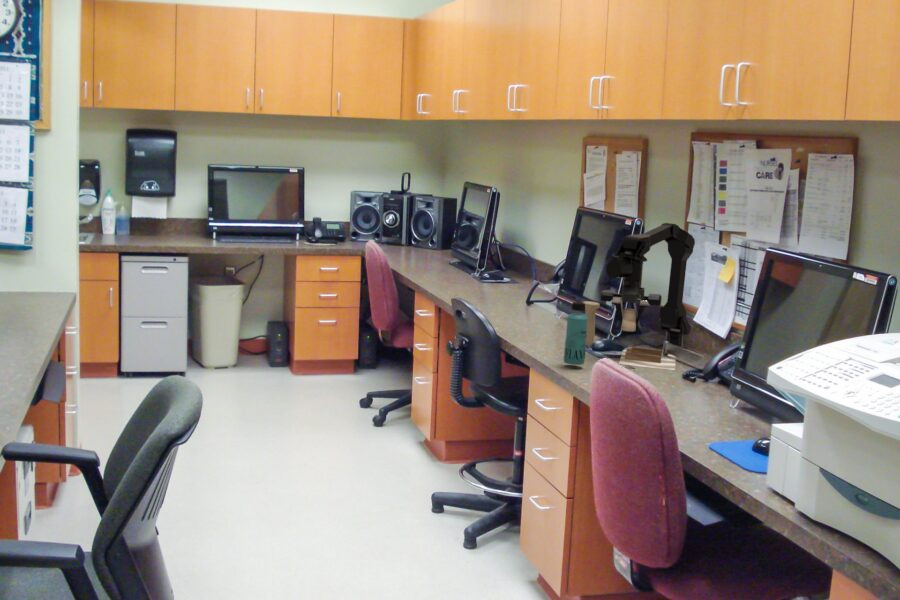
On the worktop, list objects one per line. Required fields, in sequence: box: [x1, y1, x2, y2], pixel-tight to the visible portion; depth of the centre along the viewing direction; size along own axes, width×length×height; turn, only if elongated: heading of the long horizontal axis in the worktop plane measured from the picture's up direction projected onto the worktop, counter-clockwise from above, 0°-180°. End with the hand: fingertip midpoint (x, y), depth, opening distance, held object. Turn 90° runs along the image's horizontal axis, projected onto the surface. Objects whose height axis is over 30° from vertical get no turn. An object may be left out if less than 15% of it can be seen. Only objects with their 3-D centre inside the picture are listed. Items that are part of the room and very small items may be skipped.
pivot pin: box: [621, 308, 638, 332], centre depth 311 cm, size 4×4×6 cm
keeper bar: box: [662, 340, 705, 367], centre depth 307 cm, size 21×2×4 cm, turn 21°
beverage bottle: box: [563, 301, 588, 366], centre depth 296 cm, size 6×7×20 cm
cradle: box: [618, 345, 677, 371], centre depth 309 cm, size 22×17×3 cm
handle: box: [582, 300, 601, 349], centre depth 326 cm, size 5×6×15 cm
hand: (629, 324), depth 311 cm, fingers closed on pivot pin, 4 cm apart
